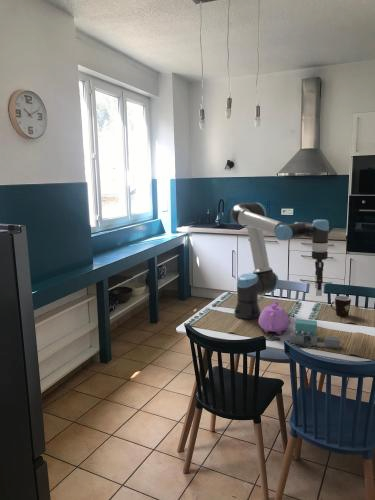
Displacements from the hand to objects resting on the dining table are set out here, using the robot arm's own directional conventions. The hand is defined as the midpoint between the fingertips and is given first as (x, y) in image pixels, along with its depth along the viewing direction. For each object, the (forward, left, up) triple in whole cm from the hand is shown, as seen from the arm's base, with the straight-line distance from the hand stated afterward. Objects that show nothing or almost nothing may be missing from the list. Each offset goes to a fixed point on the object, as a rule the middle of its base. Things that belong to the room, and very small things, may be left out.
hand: (318, 291), depth 196 cm
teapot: (-21, -6, -20) cm, 30 cm away
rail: (-1, -20, -20) cm, 28 cm away
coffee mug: (+12, +25, -20) cm, 34 cm away
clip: (-5, -11, -20) cm, 23 cm away
